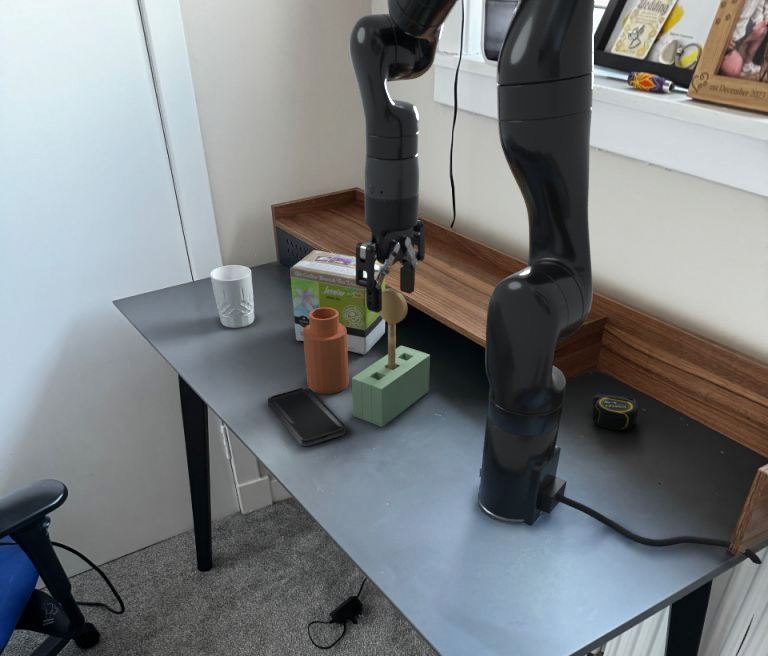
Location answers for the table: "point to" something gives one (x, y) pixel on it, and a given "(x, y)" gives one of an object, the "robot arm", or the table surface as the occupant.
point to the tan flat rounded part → (392, 319)
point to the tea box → (335, 297)
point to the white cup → (233, 295)
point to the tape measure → (614, 411)
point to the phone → (306, 416)
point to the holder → (390, 386)
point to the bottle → (326, 352)
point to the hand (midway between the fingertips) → (391, 301)
